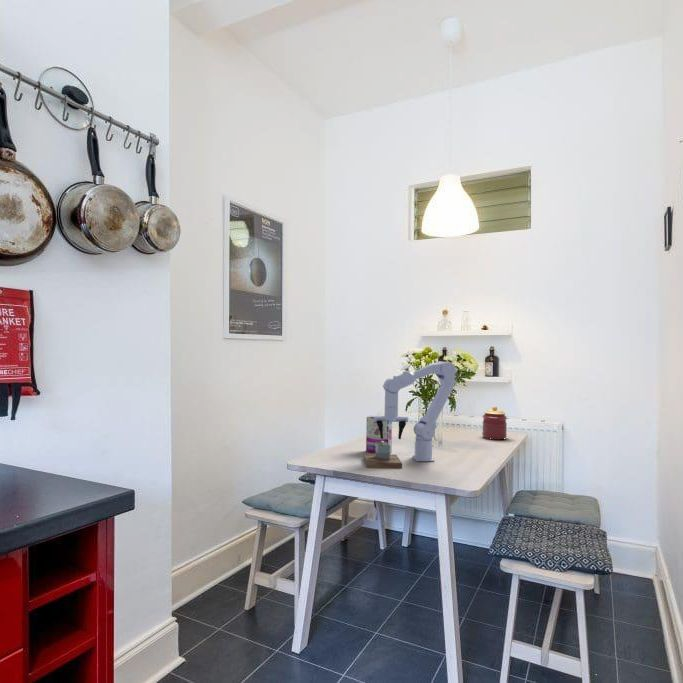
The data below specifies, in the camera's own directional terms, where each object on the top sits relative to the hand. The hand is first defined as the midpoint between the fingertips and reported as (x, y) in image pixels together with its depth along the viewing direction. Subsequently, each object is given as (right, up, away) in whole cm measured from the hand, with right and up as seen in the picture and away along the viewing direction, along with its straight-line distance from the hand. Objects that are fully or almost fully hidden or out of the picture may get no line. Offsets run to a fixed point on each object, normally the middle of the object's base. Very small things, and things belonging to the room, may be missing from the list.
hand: (390, 438), depth 209 cm
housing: (-4, -7, -5) cm, 10 cm away
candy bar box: (-4, -10, +17) cm, 20 cm away
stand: (-4, -9, -5) cm, 11 cm away
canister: (+64, -12, +61) cm, 89 cm away
